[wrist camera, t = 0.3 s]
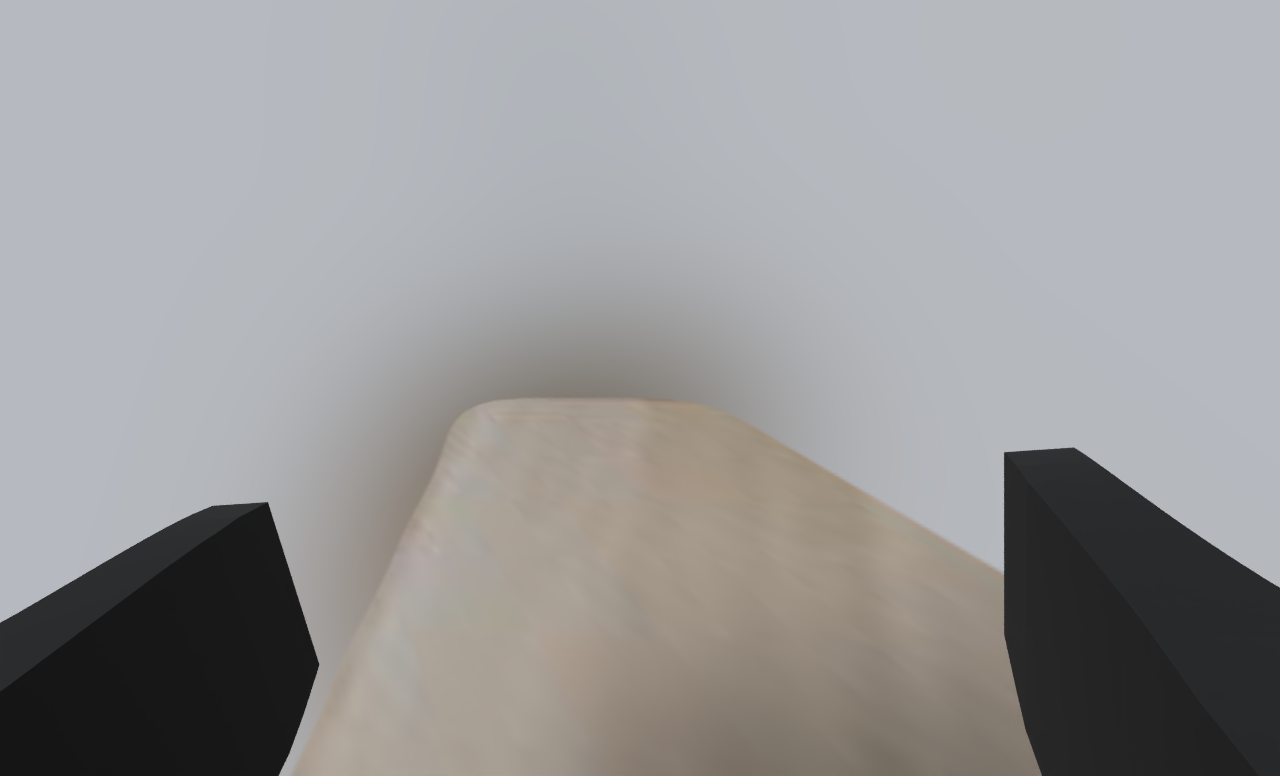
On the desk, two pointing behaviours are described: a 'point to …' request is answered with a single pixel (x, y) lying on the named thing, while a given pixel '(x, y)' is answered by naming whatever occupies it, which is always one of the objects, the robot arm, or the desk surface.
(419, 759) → the desk surface
